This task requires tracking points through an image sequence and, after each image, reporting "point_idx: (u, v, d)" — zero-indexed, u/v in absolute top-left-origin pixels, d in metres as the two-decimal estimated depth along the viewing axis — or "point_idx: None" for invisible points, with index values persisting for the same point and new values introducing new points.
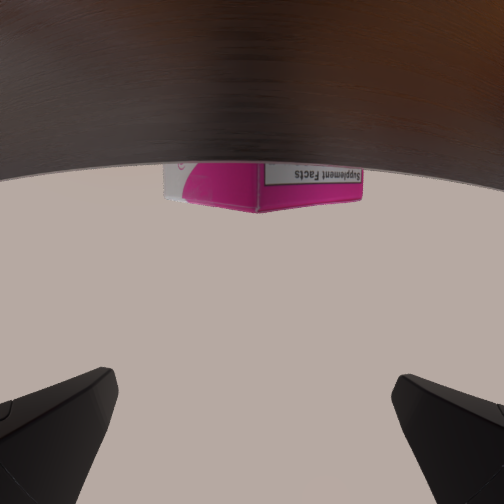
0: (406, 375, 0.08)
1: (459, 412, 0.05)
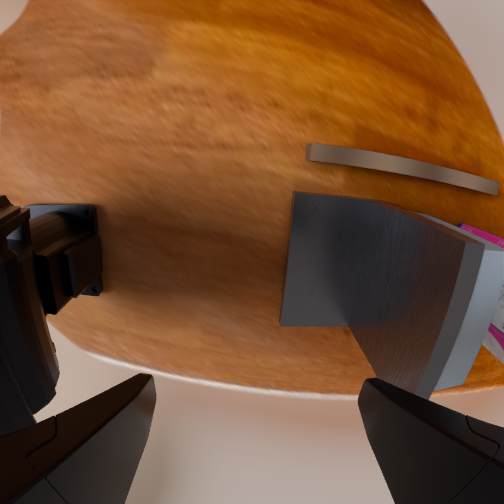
0: (372, 379, 0.08)
1: (420, 423, 0.05)
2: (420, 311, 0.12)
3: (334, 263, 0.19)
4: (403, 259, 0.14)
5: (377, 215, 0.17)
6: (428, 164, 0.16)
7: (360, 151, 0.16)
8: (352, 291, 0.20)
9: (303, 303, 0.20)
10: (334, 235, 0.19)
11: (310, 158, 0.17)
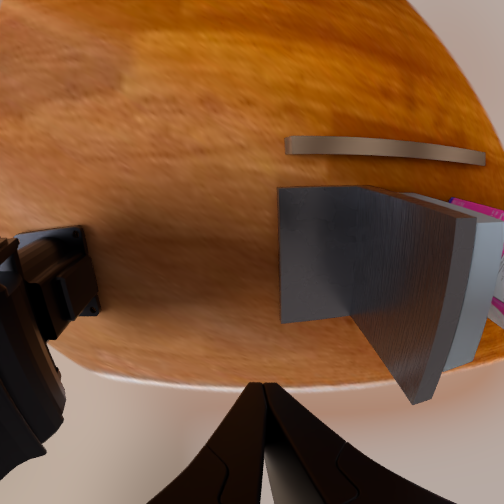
0: (268, 384, 0.08)
1: (285, 441, 0.05)
2: (419, 293, 0.12)
3: (327, 254, 0.19)
4: (395, 242, 0.14)
5: (364, 201, 0.17)
6: (410, 142, 0.16)
7: (339, 138, 0.16)
8: (349, 280, 0.20)
9: (301, 298, 0.20)
10: (324, 225, 0.19)
11: (289, 152, 0.16)
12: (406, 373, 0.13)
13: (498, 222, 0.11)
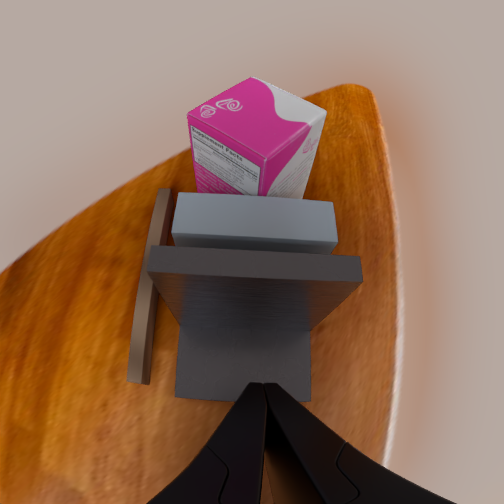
0: (268, 383, 0.08)
1: (285, 441, 0.05)
2: (237, 291, 0.14)
3: (241, 356, 0.20)
4: (205, 306, 0.16)
5: (188, 322, 0.19)
6: (142, 272, 0.20)
7: (132, 340, 0.18)
8: (270, 334, 0.20)
9: (284, 382, 0.19)
10: (213, 359, 0.19)
11: (142, 383, 0.18)
12: (330, 291, 0.13)
13: (177, 203, 0.15)
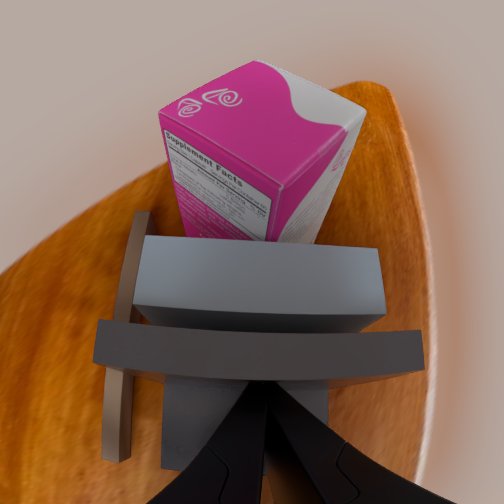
0: (268, 384, 0.08)
1: (285, 441, 0.05)
2: (235, 382, 0.08)
3: None
4: (192, 383, 0.11)
5: (174, 384, 0.14)
6: None
7: (104, 412, 0.13)
8: None
9: None
10: (206, 426, 0.14)
11: (120, 460, 0.12)
12: (373, 378, 0.08)
13: (141, 254, 0.10)
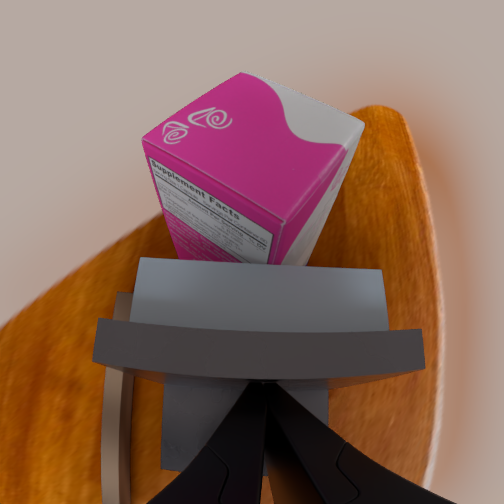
0: (268, 384, 0.08)
1: (285, 441, 0.05)
2: (236, 382, 0.08)
3: None
4: (192, 383, 0.11)
5: (174, 384, 0.14)
6: (103, 422, 0.12)
7: (104, 501, 0.10)
8: None
9: None
10: (206, 427, 0.14)
11: None
12: (374, 378, 0.08)
13: (137, 277, 0.09)
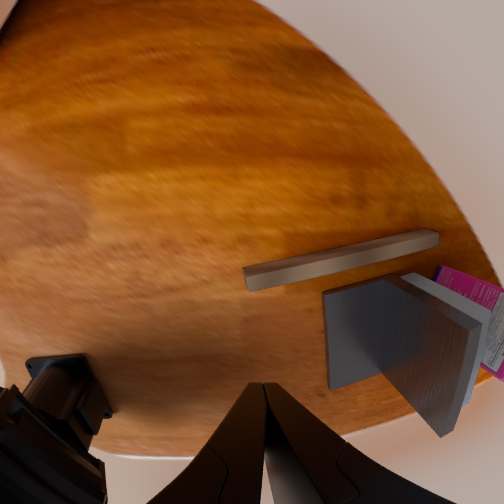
0: (268, 384, 0.08)
1: (285, 441, 0.05)
2: (441, 369, 0.15)
3: (363, 335, 0.22)
4: (421, 331, 0.17)
5: (391, 293, 0.21)
6: (360, 253, 0.19)
7: (290, 269, 0.19)
8: (380, 348, 0.23)
9: (345, 369, 0.23)
10: (360, 315, 0.22)
11: (247, 286, 0.19)
12: (434, 418, 0.16)
13: (484, 314, 0.14)
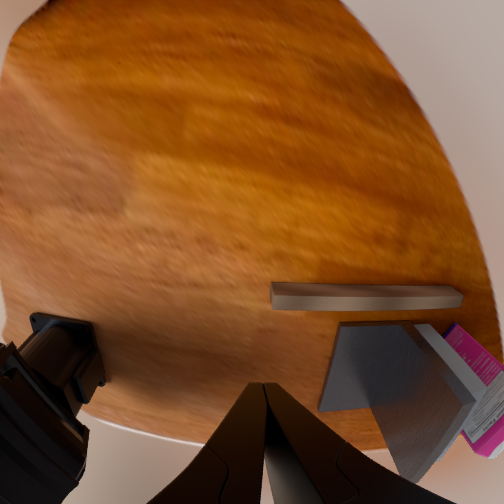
0: (268, 384, 0.08)
1: (285, 441, 0.05)
2: (425, 427, 0.15)
3: (365, 370, 0.22)
4: (419, 387, 0.17)
5: (403, 340, 0.20)
6: (386, 298, 0.19)
7: (318, 298, 0.19)
8: (376, 385, 0.23)
9: (338, 397, 0.23)
10: (367, 352, 0.22)
11: (271, 303, 0.19)
12: (405, 467, 0.16)
13: (481, 390, 0.14)
